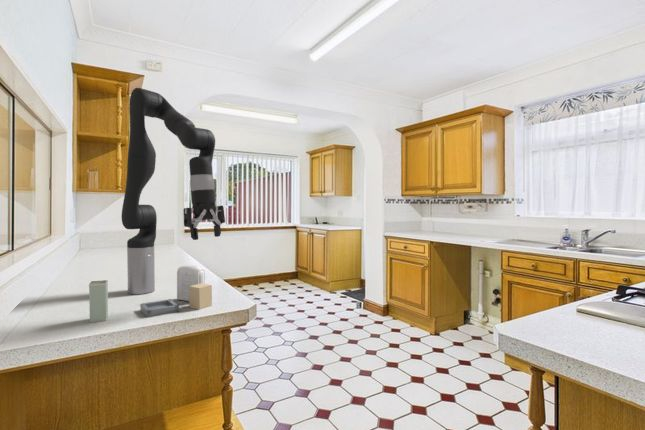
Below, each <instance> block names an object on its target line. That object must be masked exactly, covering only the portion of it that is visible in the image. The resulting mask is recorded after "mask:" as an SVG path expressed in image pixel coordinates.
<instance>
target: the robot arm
mask: <svg viewBox="0 0 645 430" xmlns="http://www.w3.org/2000/svg"><path fill="white" fill-rule="evenodd" d="M129 96H130V97H129V104H128V105H129V108H128V109H129V141H128V152H127V166H126V181H125V182H126V183H125V191H124V198H123V204H122V209H121V223H122V225H123V227H124V228H125V229H126V230H138V233H137V234H136V235H134V236H133V237H131V238H129V239H128V240H127V242H126V250H127V251H126V252H127V253H126V256H127V259H126V260H127V264H126V265H127V266H126V267H127V293H128V294H129V295H144V294H149V293H152V292H155V289H156V287H155V285H156V284H155V281H156V280H155V277H156V276H155V274H156V273H155V269H156V268H155V241H156V237H157V222H158V221H157V220H158V219H157V216H158V215H157V212H156V209H155V207H154V206H153V205H151V204H140V199H141V194H142V191H143V190H144V188H145V187H146V186H147V184H148V182H149V181H150V180H151V178H152V177H153V175H154V173H155V170H156V160H157V153H156V150H155V147H154V145H153V143H152V140H151V139H150V137H149V135H148V133H147V129H146V124H145V123H146V121H145V119H146V118H145V117H148V118H155V119H158V120H161V121H163V123H164V125H165V127H166V129H167V130H168V131H169V132H171V133H172V134H173V135H174V136H176V137H177V139H178V140H179V141H180V143H181V145H182V146H183V147H185V148H186V149H189V150H196V151H199V154H198V156H194V157H192V158H190V159H189V161H188V163H189V164H188V165H189V175H190V178H189V179H190V180H189V187H190V197H191V199H190V200H191V204H192V207H184V208H183V226H184V227H185V228H186V227H187V228H189V229H190V238H191V240H192V241H197V240H199V229H198V225H199V224H200V223H201V222H202V221H205V220H209V221H211V223H212V224H213V233H214V234H213V235H214V237H217V238H218V237H220V236H221V234H222V229H221V225H222V224H225V222H226V217H225V216H226V215H225V209H224V206H223V205H216V204H215V203H216V189H215V182H214V181H215V179H214V174H213V165H212V163H213V158H214V153H215V147H216V138H215V135H214V133H213V132H212V130H209V129H207V128H200V127H196V125H195V124H194V122H193V121H191V119H189V118H187V117H186V116H184V114H181V113H180V112H178V110H176V109H175V108H174V107H173V105H171V104H170V102H169V101H167V99H166V98H165V97H164V96H163V95H161V94H160V93H158V92H155V91H152V90H148V89H145V88H141V87H135V88H133V90H132V91H131V93H130V95H129ZM192 214H193V215H192Z"/></svg>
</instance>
